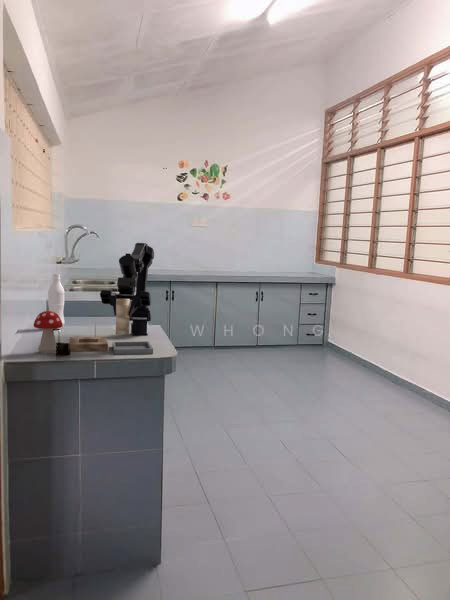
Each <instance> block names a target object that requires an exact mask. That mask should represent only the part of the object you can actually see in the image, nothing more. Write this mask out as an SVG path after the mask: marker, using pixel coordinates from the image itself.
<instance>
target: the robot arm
mask: <svg viewBox="0 0 450 600" xmlns="http://www.w3.org/2000/svg"><path fill="white" fill-rule="evenodd" d="M134 244H135V245H134V247H133V250H132V252H131V253H125V255H122V256H120V257H119V258H118V263H119V268H120V272H121V275H122V277H120V276H119V277H118V278H117V284H116V287H117V292H118V293H117V292H113V291H112V289H102V290H100V292H99V297H100V300H101V303H102V304H103V305H110V306H112V308H113V315H114V316H115V317H116V299H118V298H126V299H130V310H129V316H130V320H129V322H131V323H130V334H133V335H132V336H148V334H149V333H148V322H151V321H152V315H151V311H150V308H149V306H151V303H152V297H151V293H150V292H149V291H147V284H148V275H149V274H148V272H149V268H151V265H152V264H153V260H154V259H155V250H154V248H153V247H151V246H149V245H148V243H146V242H136V243H134Z"/></svg>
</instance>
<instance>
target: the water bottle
mask: <svg viewBox="0 0 450 600" xmlns="http://www.w3.org/2000/svg"><path fill="white" fill-rule="evenodd" d="M47 298H48V299H47V307H48V311H52V312H55V313H56V314H58V315H59V317H60V319H61V321H62V324H63V326H62V327H60V328H58V329H60V330H62V329H63V328H64V327H65V323H66V322H65V316H64V309H65V308H64V307H65V289H64V286H63V285H62V283H61V274H60V273H52V281H51V284H50V285H49V287H48V291H47Z"/></svg>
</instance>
